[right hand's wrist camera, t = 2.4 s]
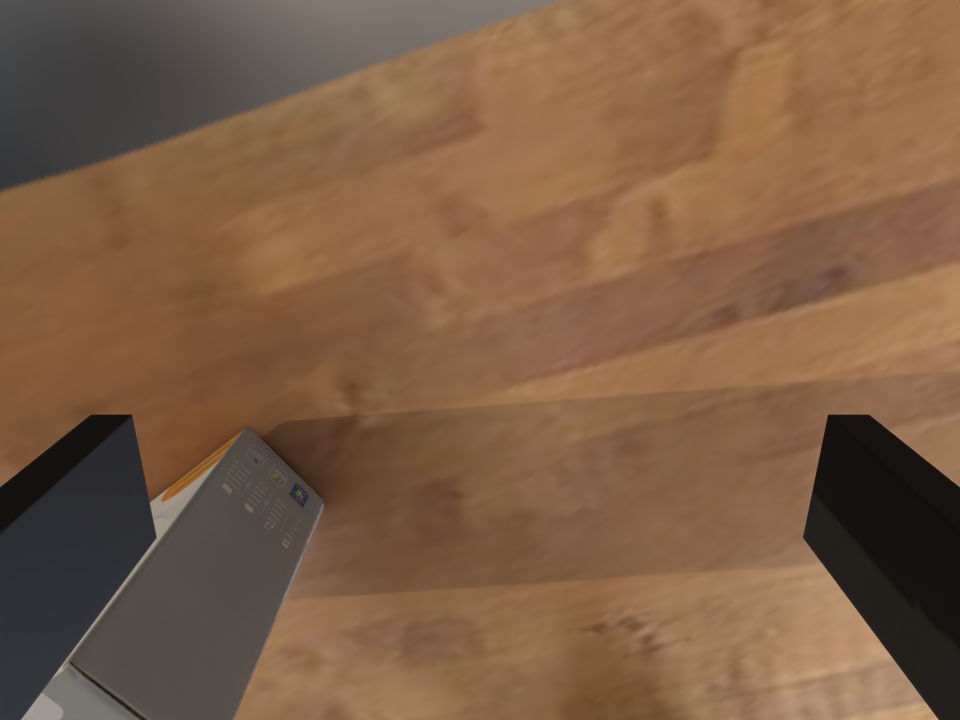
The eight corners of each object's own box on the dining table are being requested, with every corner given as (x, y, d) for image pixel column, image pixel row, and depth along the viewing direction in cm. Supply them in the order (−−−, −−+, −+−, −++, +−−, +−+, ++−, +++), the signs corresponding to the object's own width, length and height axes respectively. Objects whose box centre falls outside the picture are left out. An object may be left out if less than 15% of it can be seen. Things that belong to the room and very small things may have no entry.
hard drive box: (248, 420, 43) (73, 659, 25) (329, 500, 45) (224, 776, 27) (90, 545, 47) (-169, 838, 28) (172, 614, 49) (-18, 928, 30)
